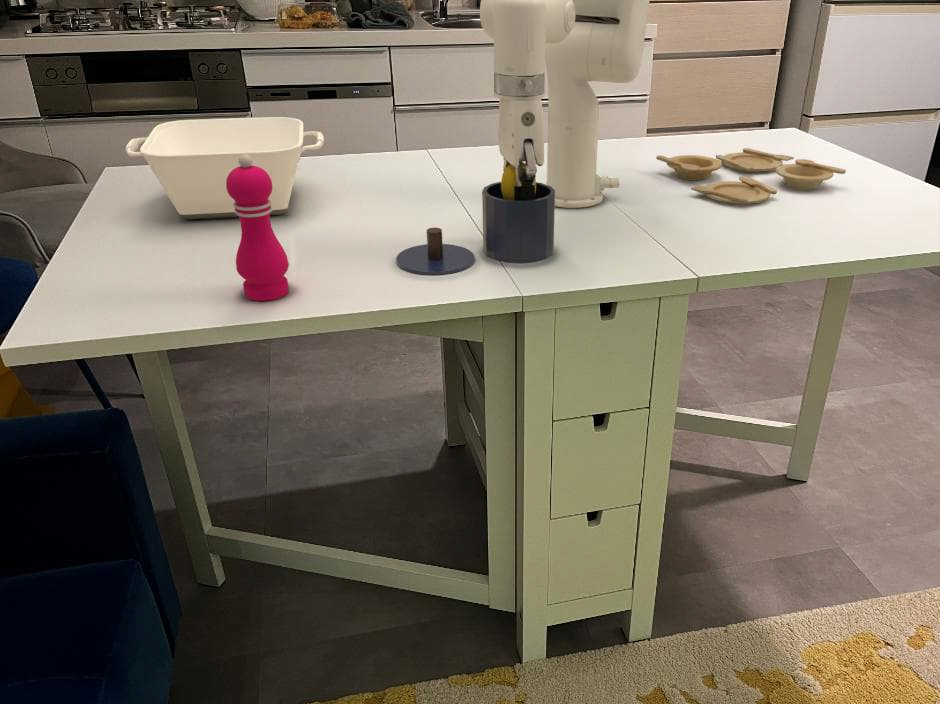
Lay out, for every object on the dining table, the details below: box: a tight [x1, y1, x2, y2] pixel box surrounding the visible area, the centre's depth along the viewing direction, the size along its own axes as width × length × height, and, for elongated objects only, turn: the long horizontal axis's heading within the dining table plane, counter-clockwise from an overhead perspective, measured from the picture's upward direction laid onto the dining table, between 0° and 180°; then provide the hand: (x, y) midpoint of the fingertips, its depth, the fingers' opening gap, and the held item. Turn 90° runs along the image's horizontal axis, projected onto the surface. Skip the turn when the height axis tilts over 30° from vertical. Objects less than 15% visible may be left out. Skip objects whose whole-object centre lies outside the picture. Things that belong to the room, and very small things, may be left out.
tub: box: [125, 116, 325, 220], centre depth 153 cm, size 34×27×13 cm
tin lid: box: [395, 227, 476, 276], centre depth 131 cm, size 12×12×6 cm
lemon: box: [500, 162, 537, 200], centre depth 131 cm, size 6×6×8 cm
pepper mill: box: [226, 155, 290, 302], centre depth 117 cm, size 7×7×20 cm
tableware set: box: [655, 147, 847, 205], centre depth 175 cm, size 35×29×4 cm
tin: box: [481, 181, 556, 265], centre depth 135 cm, size 11×11×10 cm
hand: (518, 203), depth 133 cm, fingers closed on lemon, 5 cm apart
